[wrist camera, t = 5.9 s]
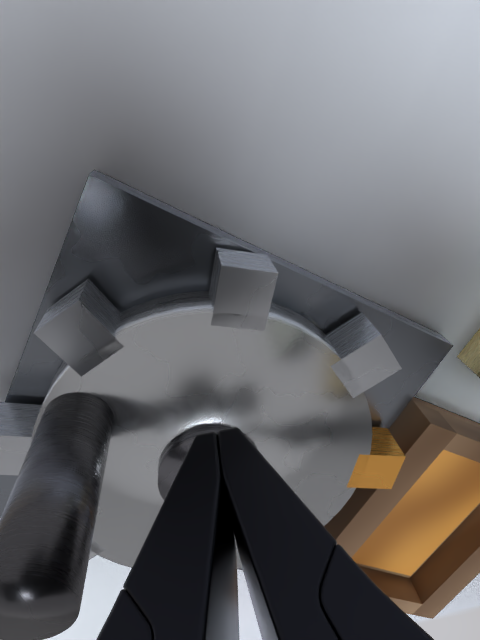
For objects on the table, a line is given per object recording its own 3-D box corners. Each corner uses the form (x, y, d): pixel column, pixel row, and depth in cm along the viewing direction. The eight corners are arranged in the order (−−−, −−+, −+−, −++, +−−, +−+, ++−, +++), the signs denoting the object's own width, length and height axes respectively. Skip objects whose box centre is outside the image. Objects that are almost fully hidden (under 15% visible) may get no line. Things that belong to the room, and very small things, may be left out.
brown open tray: (544, 450, 19) (575, 479, 17) (415, 584, 22) (432, 618, 20) (408, 394, 16) (430, 423, 15) (285, 554, 19) (294, 590, 18)
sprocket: (105, 166, 11) (28, 248, 5) (459, 359, 15) (642, 528, 9) (-49, 507, 15) (-190, 771, 9) (264, 586, 19) (304, 802, 13)
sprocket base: (440, 334, 15) (453, 345, 15) (270, 559, 19) (273, 576, 19) (94, 169, 12) (89, 174, 11) (-26, 491, 16) (-36, 510, 15)
